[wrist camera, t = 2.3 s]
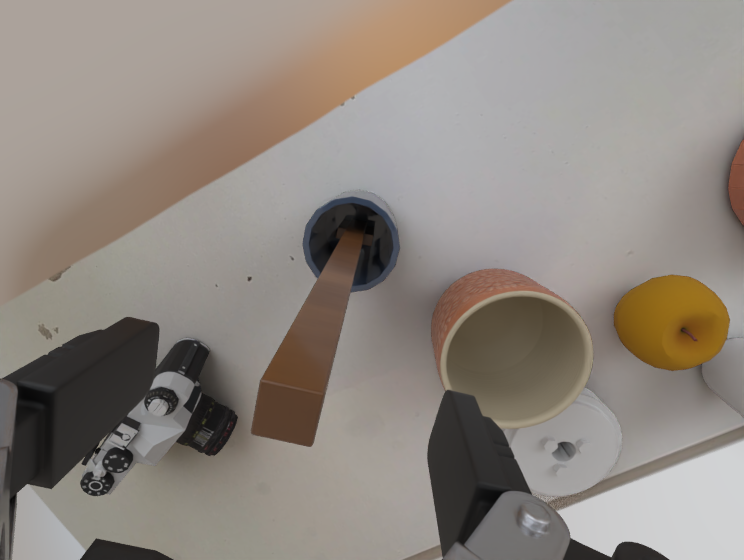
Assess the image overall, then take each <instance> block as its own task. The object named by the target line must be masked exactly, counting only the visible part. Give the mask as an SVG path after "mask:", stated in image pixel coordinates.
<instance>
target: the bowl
mask: <svg viewBox="0 0 744 560" xmlns="http://www.w3.org/2000/svg"><path fill="white" fill-rule="evenodd" d="M728 187H729V188H728V191H729V196H730V201H731V206H732V209H733V211H734V212H735V214H736V215H737V217H738V219H739V220H740V222H741V223H742V225H743V226H744V139H743V141H742V142H741V144H740V146H739V148H738V151H737V153H736V155H735V157H734V159H733V162H732V164H731V171H730V178H729V185H728Z"/></svg>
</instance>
